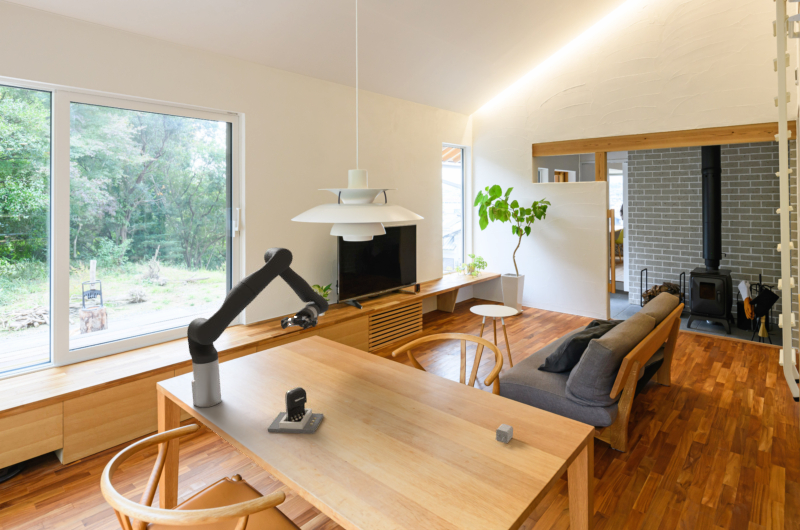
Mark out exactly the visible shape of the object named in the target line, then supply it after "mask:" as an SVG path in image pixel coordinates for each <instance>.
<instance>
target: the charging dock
mask: <svg viewBox="0 0 800 530" xmlns="http://www.w3.org/2000/svg"><path fill="white" fill-rule="evenodd" d="M323 419H324V413H321V412H320V413H319V412H318V413H316V412H315V413H314V412H313V409H312V408H305V416H304V417H303V419H302V420H301V421H299V422H287V413H286V411H280V412H279V413H278V415H277V416H276V417H275V418H274V419H273V421H272V422H271V423H270V425H269V426H268V427H267V433H283V432H286V433H289V434H309V435H311V434H313V435H314V434H315V433H316V431H317V429H318V427H319V426H318V425H320V424H321V422H322V420H323ZM286 433H285V434H286Z"/></svg>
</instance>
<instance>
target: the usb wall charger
mask: <svg viewBox="0 0 800 530" xmlns="http://www.w3.org/2000/svg"><path fill="white" fill-rule="evenodd" d="M513 437H514V427H513V426H512V425H509V424H505V423H502V424H500V425H499V427H497V429H496V430H495V440H496V441H497V442H500V443H504V444H508V443H509V442H510V441H511V439H513Z"/></svg>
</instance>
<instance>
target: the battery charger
mask: <svg viewBox="0 0 800 530" xmlns="http://www.w3.org/2000/svg"><path fill="white" fill-rule="evenodd" d="M307 399H308V398H307V390H306V389H305V388H303V387H300V386H298V387H294V388H291V389H289V390H287V391H286V392H285V399H284V401H285V412H286V413H287V422H299V421H301V420H302V419H303V417H304V416H305V406H306V405H305V404H306V403H307V402H308V401H307Z"/></svg>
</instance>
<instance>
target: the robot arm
mask: <svg viewBox="0 0 800 530" xmlns="http://www.w3.org/2000/svg"><path fill="white" fill-rule="evenodd" d="M293 256H294V255H293V253H292V251H291V250H289V249H288V248H285V247H270V248H268V249H267V250H266V251H265V252H264V257H263V259H264V262H265V264H264V265H263V266H262V267H260V268H259V269H257V270H255V271H254V272H251V273H249V274H248V275H247V276H245V277H243V278H242V279H240V280H239V281H238V282H237V283H236V284H235V285H234V286H233V287H232V288H231V289H230V290H229V291H228V293H227V295H226V296H225V298H224V300H223V303H222V305H221V306H220V308H218V310H217V311H216V312H215V313H213V315H211V316H210V317H209V318H208V319H207V318H205V317H197V318H194V319H193V320H191V321H190V323H189V324H188V327H187V331H186V332H187V335H186V336H187V342H188V343H187V344H188V352H189V355H190V357H191V364H192V376H193V380H192V381H191V393H192V405H193V406H197V407H198V408H208V407H213V406H216V405H219V404H220V403H221V402H222V393H221V391H222V390H221V378H220V377H221V376H220V365H219V352H218V350H217V348H216V347H215V345H214V343H215V342H216V341H217V340H218V339H220V337H221V336H222V334H223V333H224V332H225V331H226V330H227V328H228V327H229V325H231V323H232V322H233V321H234V320H235V319H236V318H237V317H238V316H239V315H240V314H241V313H242V312H243V311H244V310H245V309H246V308H247V307H248V306H249V305H250V304H251V303H252V302H253V301H254V300H255V299H256V298H257V297H258V296H259V295H260V294H261V293H262V292H263V291H264V290H265V289H266V287H268V285H269V284H270V283H272V281H273V280H275V279H276V278H277V277H280V278H281V279H282V280H283V281H284V282H285V283H286V284H287V285H288V286H289V287H290V289H291V290H293V293H295V295H296V296H298V298H299V299H300V300H301V301H302V303H306V305H305V306H304V307H302V308H301V309H300V310H298V311H297V312H296V313H295V315H294V317H289V316H285V317H283V318H282V319H281V320H280V326H281V328H282V330H285V329H286V328H288V327H291V328H292V327H295V326H296V327H300V328H302V329H303V330H307V329H308V328H311V327H313V328H315V327H316V326H317V325H318V324H319V322H318V321H319V320H318V318H319V316H320V315H321V314H324V313H326V312H327V311H328V310H329V308H330V307H329V301H328V300H327V299H326V298H325V297H323V295H321V294H319V293H318V292H316V291H315V290H314V289H313V288H312V287H311V285H310V284H309V283H308V282H307V280H306V279H304V278H303V277H302V276H301V275H300V274H298V273H297V272H295V270H293V269H292V267H290V266H291V264H292V262H293Z"/></svg>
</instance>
